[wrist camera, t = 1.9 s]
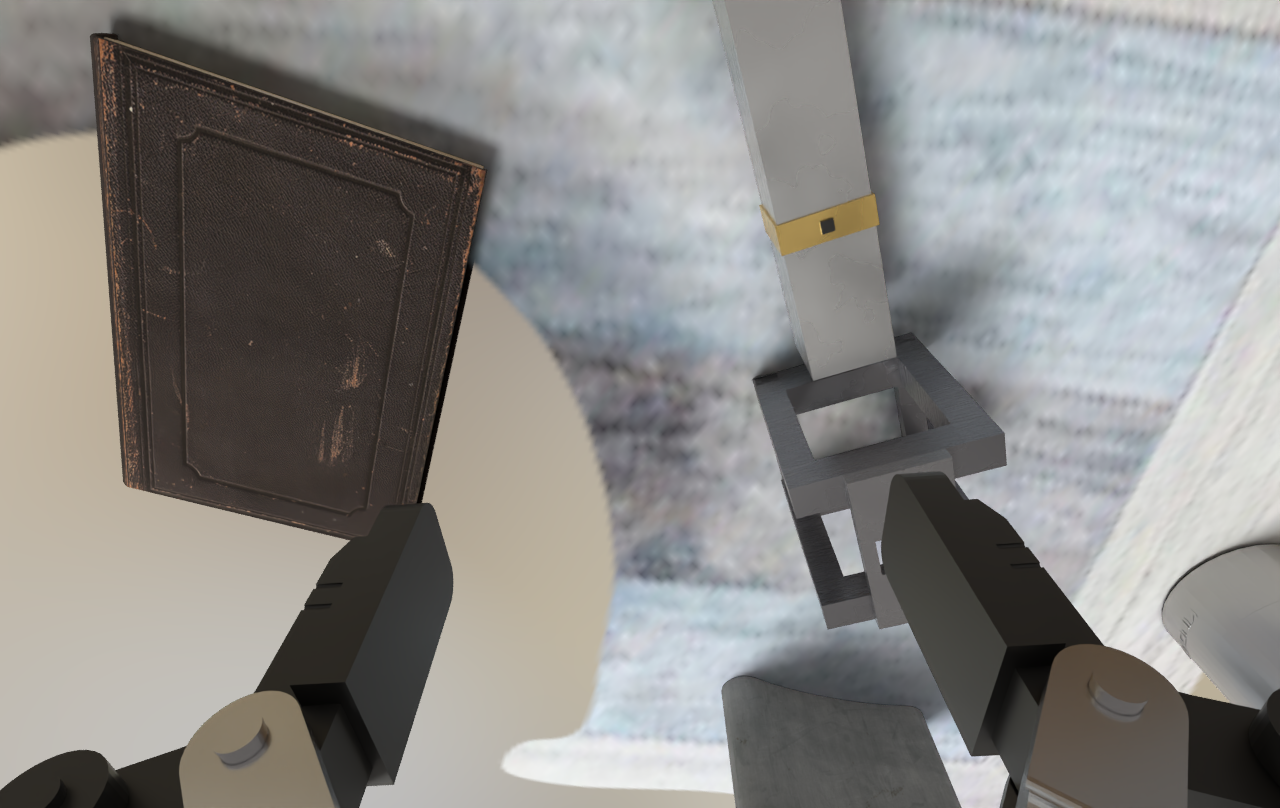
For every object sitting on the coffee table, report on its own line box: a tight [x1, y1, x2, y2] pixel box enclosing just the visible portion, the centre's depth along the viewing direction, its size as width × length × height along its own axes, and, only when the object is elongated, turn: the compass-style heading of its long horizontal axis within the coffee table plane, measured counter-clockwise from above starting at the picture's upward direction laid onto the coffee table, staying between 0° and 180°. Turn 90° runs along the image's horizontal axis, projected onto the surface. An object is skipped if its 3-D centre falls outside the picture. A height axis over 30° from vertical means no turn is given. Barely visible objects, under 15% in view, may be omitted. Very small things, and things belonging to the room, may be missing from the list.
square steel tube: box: [712, 0, 897, 381], centre depth 24 cm, size 22×4×4 cm, turn 19°
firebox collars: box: [753, 333, 1007, 629], centre depth 31 cm, size 8×9×10 cm
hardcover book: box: [90, 33, 487, 541], centre depth 32 cm, size 16×23×2 cm
